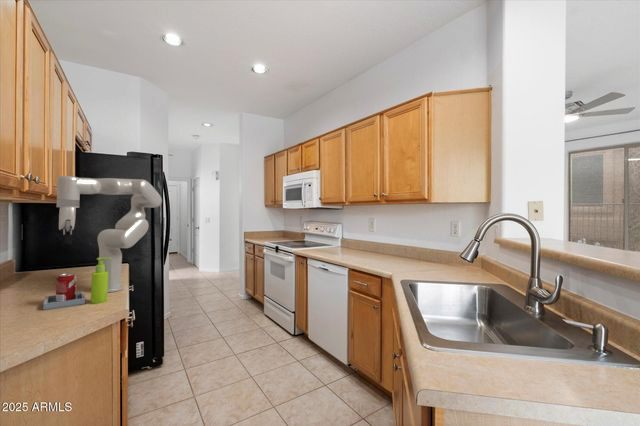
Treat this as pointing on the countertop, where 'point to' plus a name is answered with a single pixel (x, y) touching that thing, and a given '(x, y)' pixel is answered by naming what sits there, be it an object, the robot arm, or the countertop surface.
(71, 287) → the soda can
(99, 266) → the soap dispenser
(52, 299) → the slate tray
